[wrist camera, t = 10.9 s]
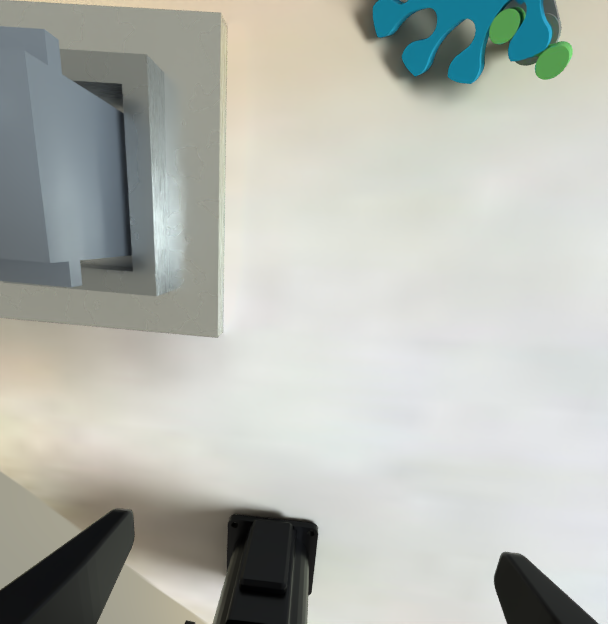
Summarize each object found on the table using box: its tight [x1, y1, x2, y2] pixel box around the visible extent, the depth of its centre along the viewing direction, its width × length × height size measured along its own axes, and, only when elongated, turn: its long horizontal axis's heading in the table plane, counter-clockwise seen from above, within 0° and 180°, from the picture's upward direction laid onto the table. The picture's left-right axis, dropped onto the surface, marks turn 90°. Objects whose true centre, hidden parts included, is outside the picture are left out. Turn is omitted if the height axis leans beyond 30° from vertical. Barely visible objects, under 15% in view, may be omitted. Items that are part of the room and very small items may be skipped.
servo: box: [0, 26, 132, 287], centre depth 13 cm, size 9×4×6 cm, turn 175°
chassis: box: [0, 0, 227, 338], centre depth 16 cm, size 16×14×2 cm
